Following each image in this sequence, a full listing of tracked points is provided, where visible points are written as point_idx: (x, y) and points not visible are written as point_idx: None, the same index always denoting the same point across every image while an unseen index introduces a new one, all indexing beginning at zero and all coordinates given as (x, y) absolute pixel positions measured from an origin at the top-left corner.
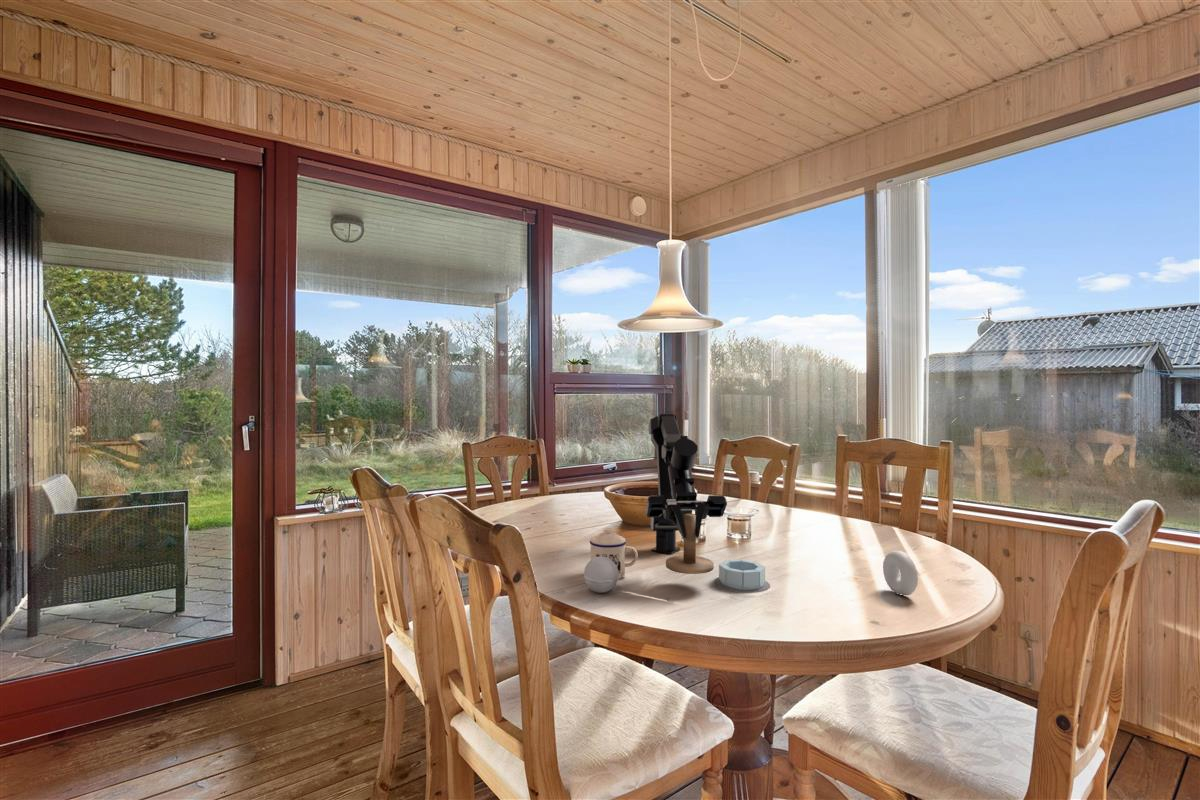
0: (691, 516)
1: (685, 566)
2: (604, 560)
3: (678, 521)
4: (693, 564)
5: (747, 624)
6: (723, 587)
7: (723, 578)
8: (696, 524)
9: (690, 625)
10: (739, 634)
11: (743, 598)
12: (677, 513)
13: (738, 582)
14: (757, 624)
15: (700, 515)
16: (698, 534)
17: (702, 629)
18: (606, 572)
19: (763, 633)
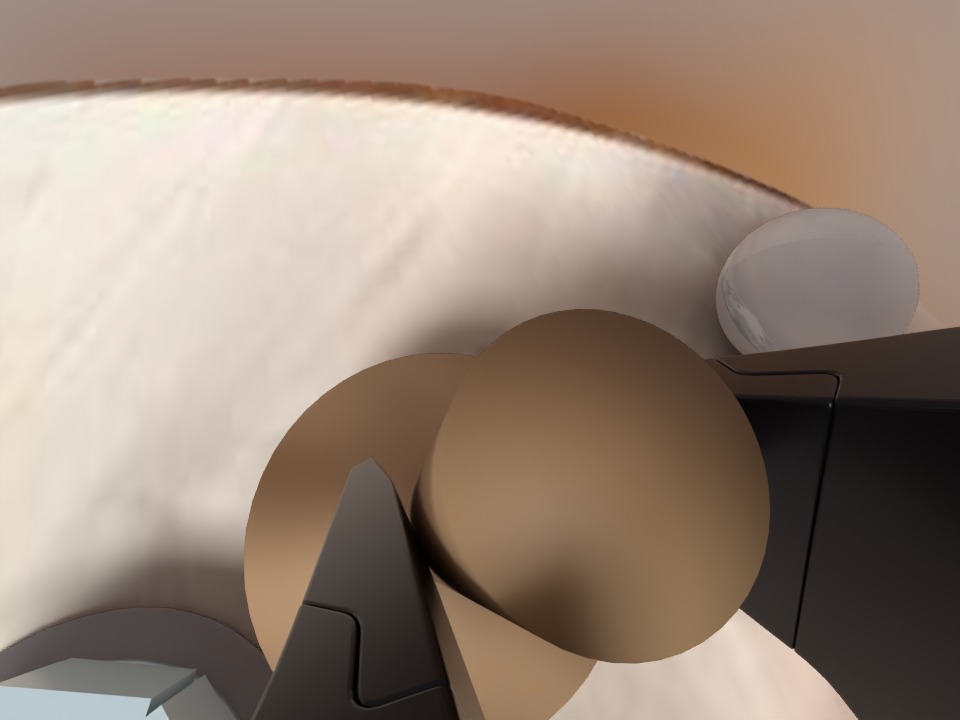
0: (514, 329)
1: (443, 406)
2: (844, 229)
3: (711, 364)
4: (403, 481)
5: (83, 207)
6: (225, 652)
7: (213, 714)
8: (419, 556)
9: (319, 143)
10: (123, 119)
11: (88, 535)
12: (880, 358)
13: (86, 667)
14: (33, 219)
15: (324, 677)
16: (358, 469)
17: (269, 125)
18: (771, 225)
19: (15, 147)
